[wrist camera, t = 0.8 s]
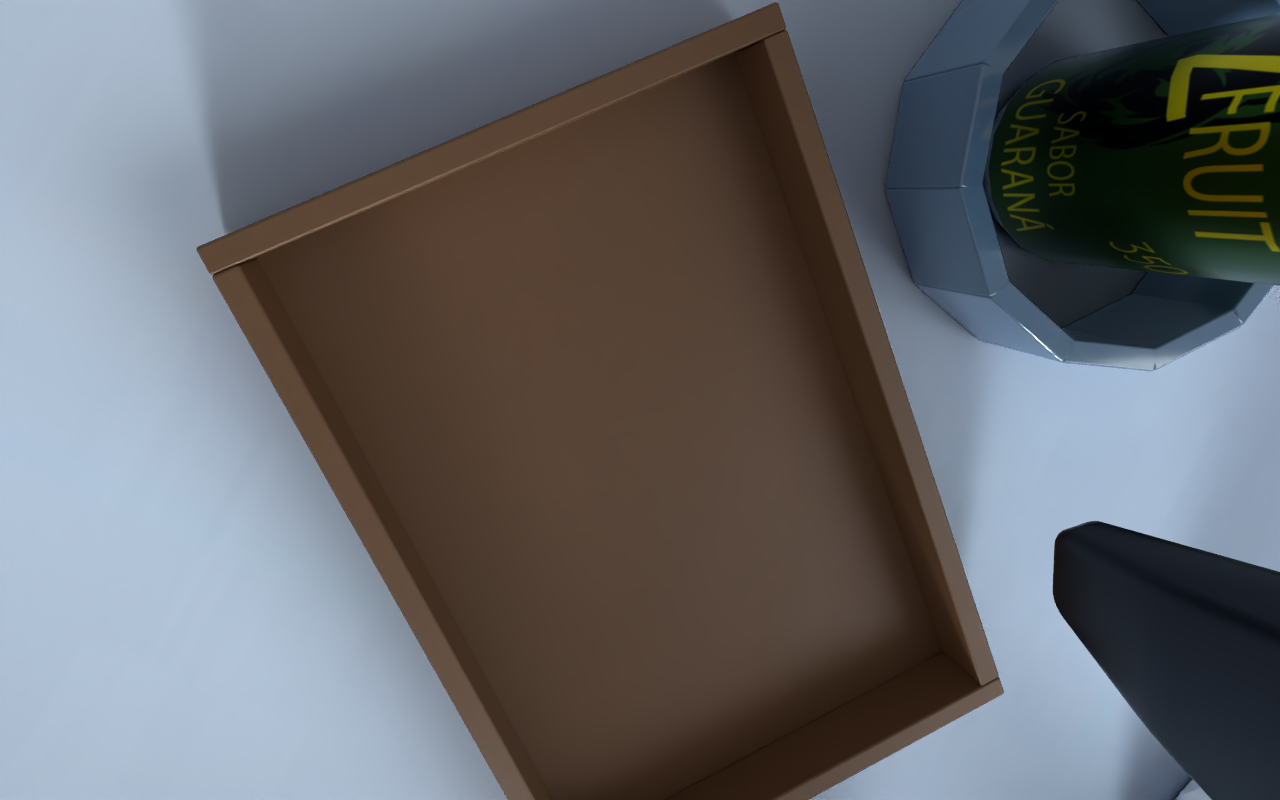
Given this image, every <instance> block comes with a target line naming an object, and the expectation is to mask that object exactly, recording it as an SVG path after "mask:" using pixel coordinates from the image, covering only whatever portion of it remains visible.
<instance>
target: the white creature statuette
mask: <svg viewBox="0 0 1280 800" xmlns="http://www.w3.org/2000/svg"><path fill="white" fill-rule="evenodd" d="M1175 800H1211V799H1210V797H1209V796H1208V795H1207V794H1206V793H1205V792H1204V791H1203V790H1202V789H1201V788H1200V787H1199V785H1198V784H1197V783H1196V782H1195V781H1194V780H1193V779H1192V780H1191V781H1190V782H1189V783H1188V785H1187V786H1186V787H1185V788H1184V789H1183V791H1181V792H1180V794H1179V795H1178V797H1177V798H1176V799H1175Z"/></svg>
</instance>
